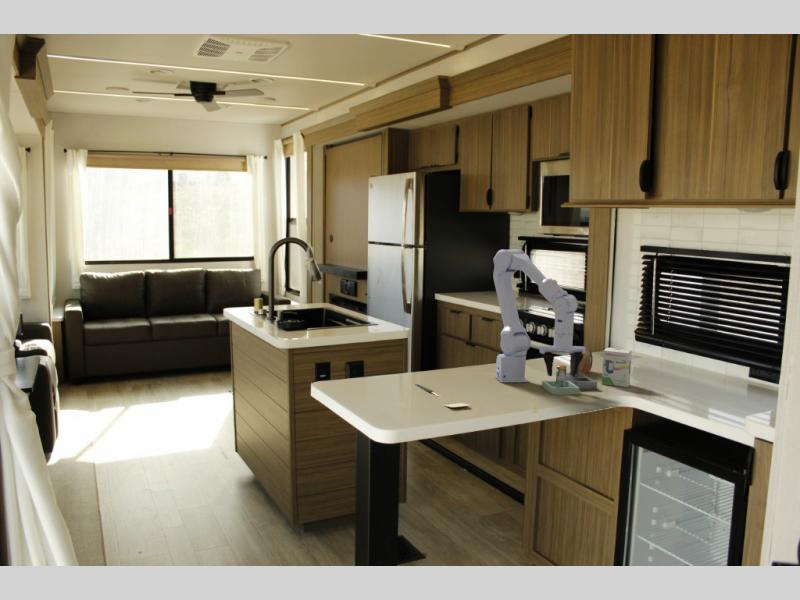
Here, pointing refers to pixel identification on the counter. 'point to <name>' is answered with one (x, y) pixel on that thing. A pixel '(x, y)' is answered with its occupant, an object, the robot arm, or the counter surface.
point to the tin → (585, 363)
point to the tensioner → (582, 381)
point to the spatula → (438, 395)
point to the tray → (560, 388)
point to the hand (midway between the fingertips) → (561, 375)
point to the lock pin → (560, 376)
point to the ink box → (616, 367)
